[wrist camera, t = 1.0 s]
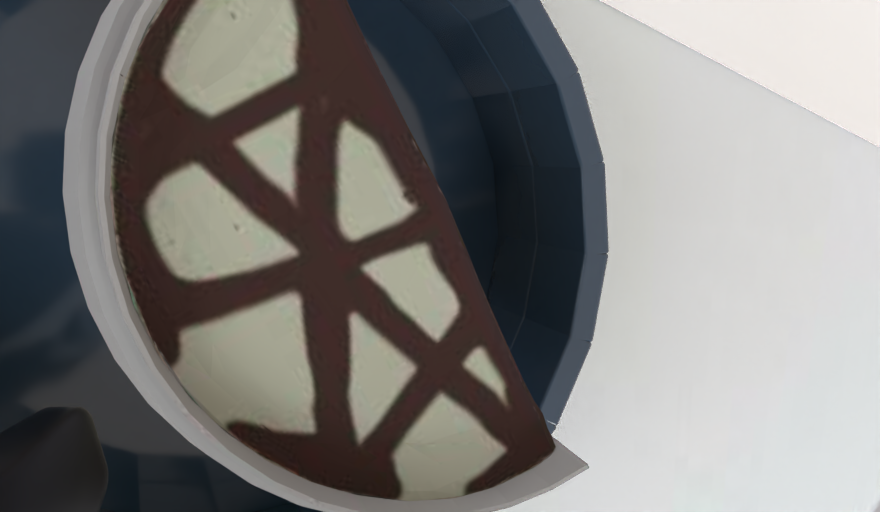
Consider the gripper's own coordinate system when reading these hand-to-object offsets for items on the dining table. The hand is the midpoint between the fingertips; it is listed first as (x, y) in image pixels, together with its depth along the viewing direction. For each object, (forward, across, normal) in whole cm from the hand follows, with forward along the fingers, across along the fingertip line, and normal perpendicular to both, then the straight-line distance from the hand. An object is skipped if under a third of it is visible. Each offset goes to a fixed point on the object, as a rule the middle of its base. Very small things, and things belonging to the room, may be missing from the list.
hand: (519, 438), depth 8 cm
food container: (+13, +8, +4) cm, 15 cm away
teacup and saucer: (+26, -11, -6) cm, 29 cm away
